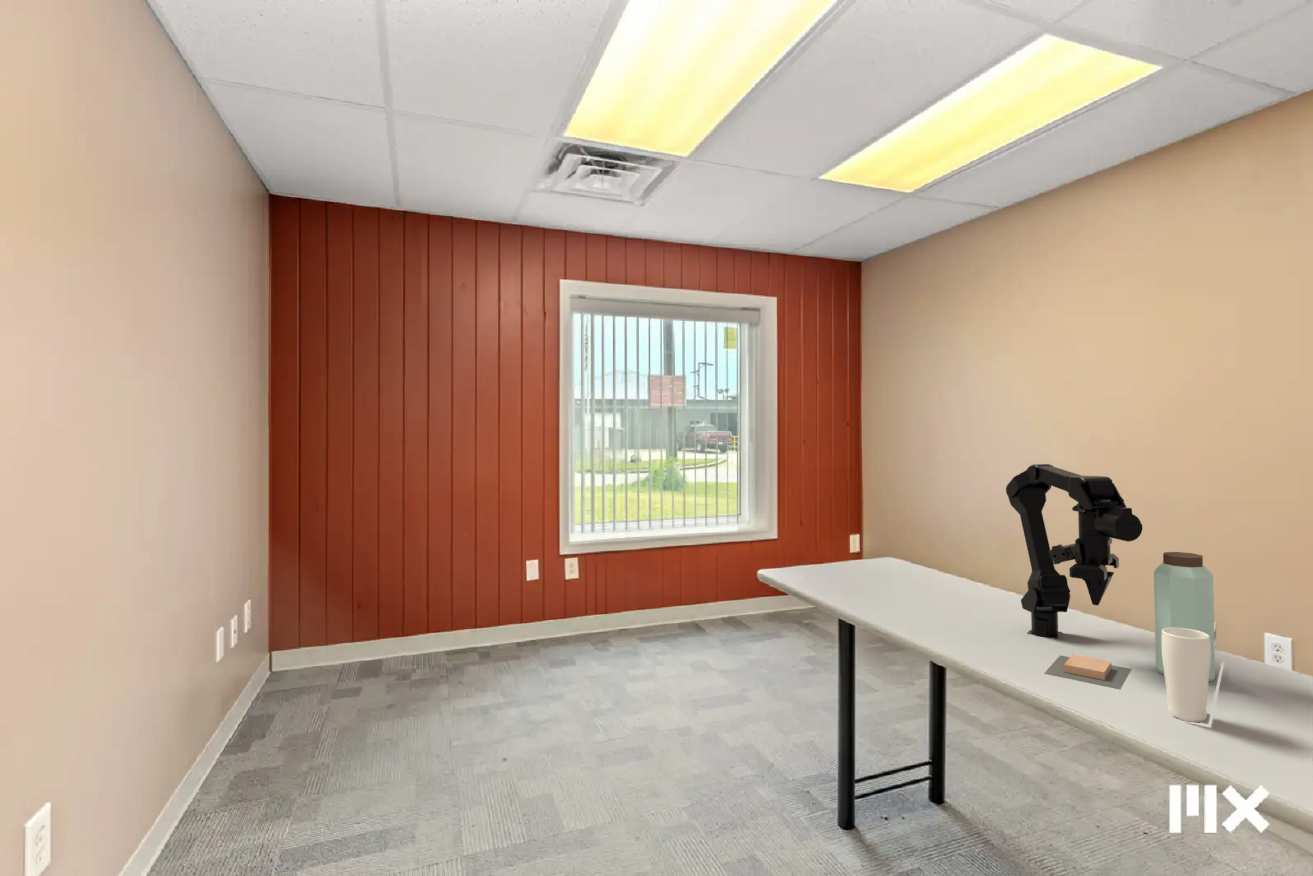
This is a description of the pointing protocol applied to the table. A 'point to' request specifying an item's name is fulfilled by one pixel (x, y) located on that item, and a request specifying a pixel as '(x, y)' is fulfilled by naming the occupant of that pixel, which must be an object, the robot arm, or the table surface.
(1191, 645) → the drinking glass
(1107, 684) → the mat
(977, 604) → the table surface
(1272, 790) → the table surface
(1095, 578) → the robot arm
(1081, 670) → the tile
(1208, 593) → the water bottle
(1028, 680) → the table surface
